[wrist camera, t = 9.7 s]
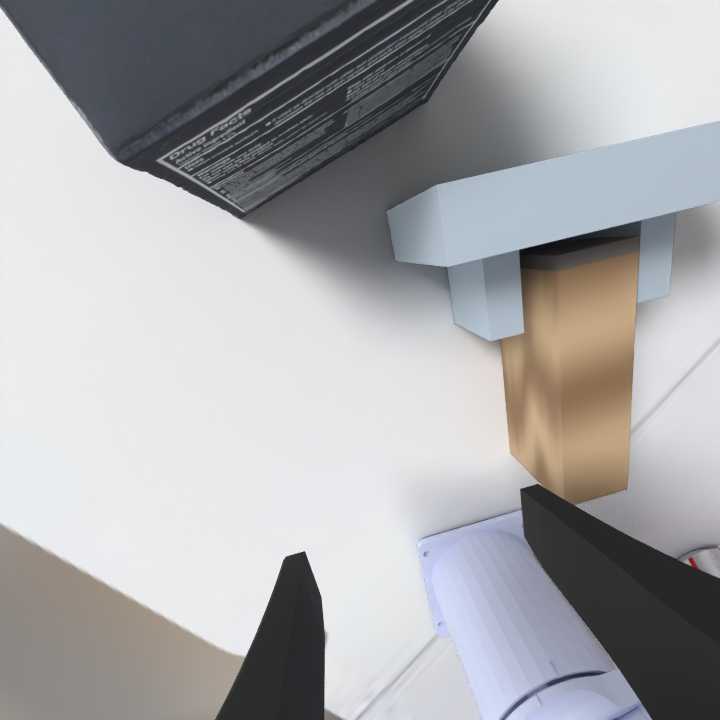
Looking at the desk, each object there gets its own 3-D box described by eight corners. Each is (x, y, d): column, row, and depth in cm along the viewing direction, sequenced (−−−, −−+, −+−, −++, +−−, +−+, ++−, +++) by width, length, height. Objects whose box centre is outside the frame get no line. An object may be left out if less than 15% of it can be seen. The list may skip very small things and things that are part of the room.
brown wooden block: (560, 439, 22) (627, 489, 18) (510, 453, 22) (564, 507, 17) (554, 239, 18) (639, 235, 14) (493, 254, 18) (557, 255, 13)
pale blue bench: (642, 276, 20) (810, 288, 13) (408, 335, 19) (461, 380, 12) (648, 151, 18) (853, 90, 11) (386, 211, 17) (436, 184, 10)
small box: (361, -73, 13) (504, -968, 4) (432, 101, 16) (646, -161, 6) (138, 74, 14) (-287, -364, 4) (237, 224, 16) (120, 180, 6)
